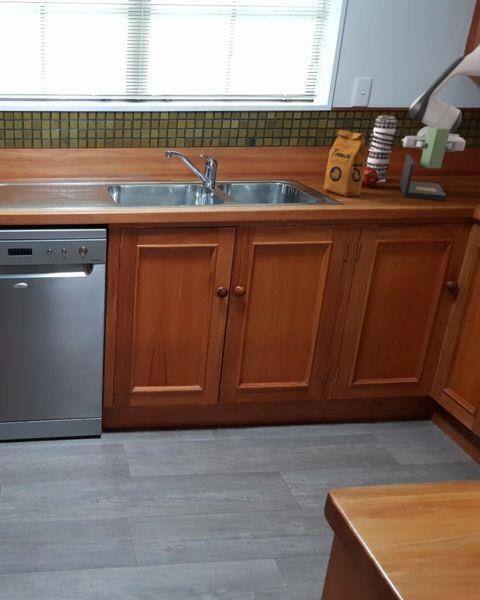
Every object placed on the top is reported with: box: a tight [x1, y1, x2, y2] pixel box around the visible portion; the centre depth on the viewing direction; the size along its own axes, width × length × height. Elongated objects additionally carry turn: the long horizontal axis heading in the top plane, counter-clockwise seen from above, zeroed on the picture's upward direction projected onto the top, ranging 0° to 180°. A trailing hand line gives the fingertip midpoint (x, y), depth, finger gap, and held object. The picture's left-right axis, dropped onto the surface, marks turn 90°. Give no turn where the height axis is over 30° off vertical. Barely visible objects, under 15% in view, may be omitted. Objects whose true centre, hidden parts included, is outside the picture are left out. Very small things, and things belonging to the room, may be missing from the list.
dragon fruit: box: [361, 165, 380, 189], centre depth 234 cm, size 8×8×12 cm
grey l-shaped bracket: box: [399, 154, 447, 202], centre depth 223 cm, size 13×22×12 cm, turn 158°
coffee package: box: [322, 129, 367, 198], centre depth 218 cm, size 10×12×22 cm
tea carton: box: [419, 127, 450, 169], centre depth 222 cm, size 5×5×14 cm
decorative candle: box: [365, 114, 398, 183], centre depth 242 cm, size 9×9×25 cm
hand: (435, 146), depth 220 cm, fingers closed on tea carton, 6 cm apart
